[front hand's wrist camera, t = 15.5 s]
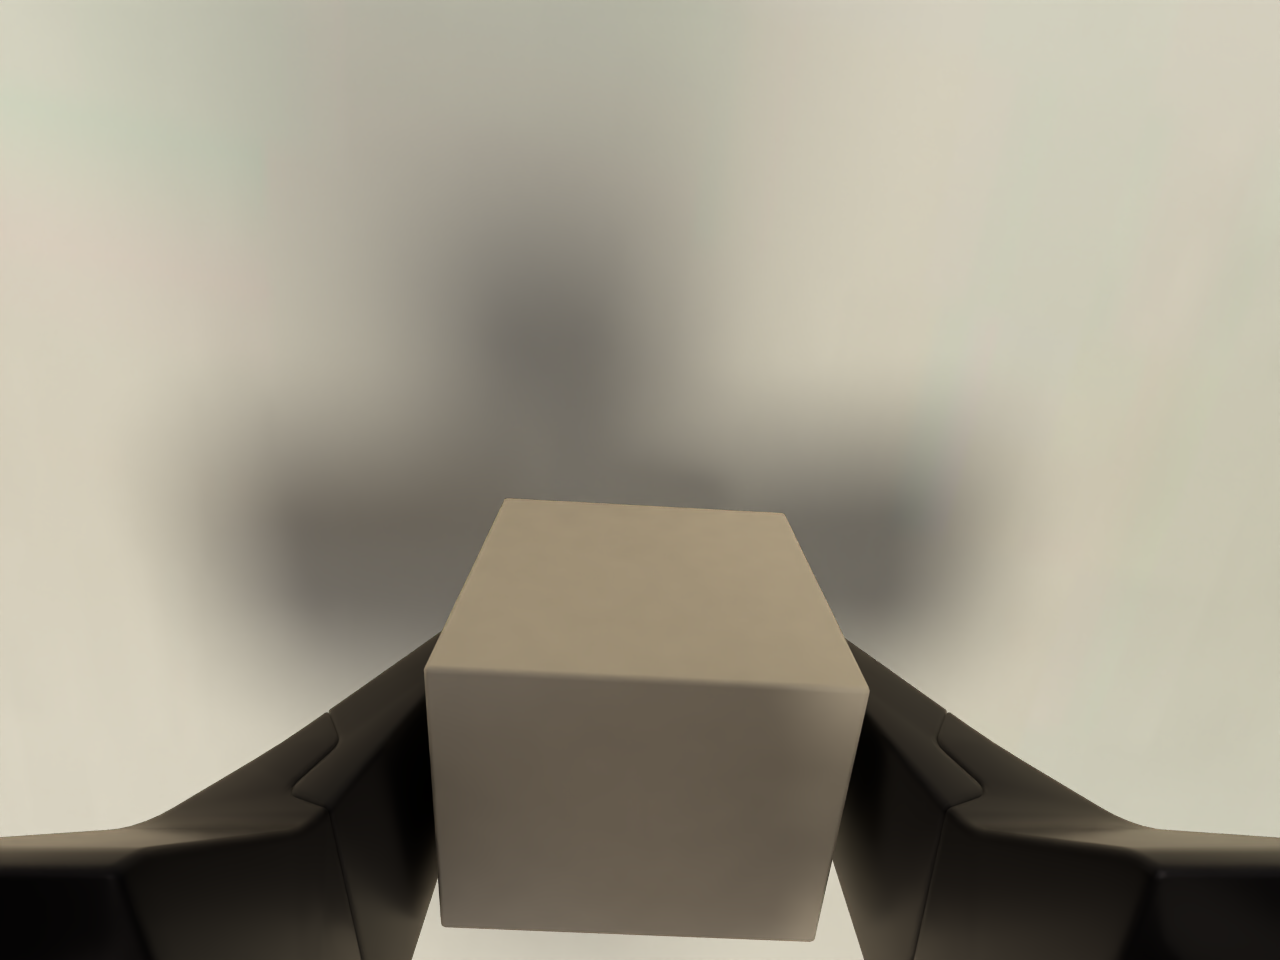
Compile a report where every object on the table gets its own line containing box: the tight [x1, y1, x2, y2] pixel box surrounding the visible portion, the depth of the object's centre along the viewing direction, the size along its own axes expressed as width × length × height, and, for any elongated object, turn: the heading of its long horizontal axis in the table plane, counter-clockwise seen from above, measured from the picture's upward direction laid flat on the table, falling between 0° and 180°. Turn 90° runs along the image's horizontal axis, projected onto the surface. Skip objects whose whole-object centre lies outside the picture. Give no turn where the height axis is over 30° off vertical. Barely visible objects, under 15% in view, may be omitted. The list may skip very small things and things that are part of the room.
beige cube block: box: [424, 498, 870, 942], centre depth 11 cm, size 5×4×5 cm
